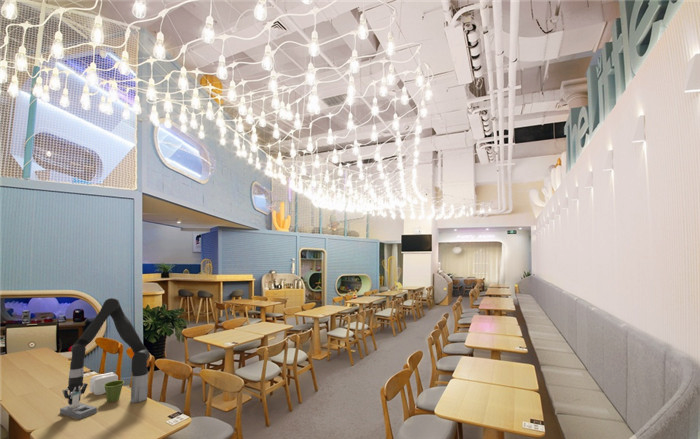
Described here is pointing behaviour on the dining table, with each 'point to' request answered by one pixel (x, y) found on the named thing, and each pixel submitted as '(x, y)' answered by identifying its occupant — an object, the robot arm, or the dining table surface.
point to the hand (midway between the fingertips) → (74, 402)
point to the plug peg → (75, 400)
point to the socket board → (78, 411)
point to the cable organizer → (101, 382)
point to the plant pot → (113, 390)
